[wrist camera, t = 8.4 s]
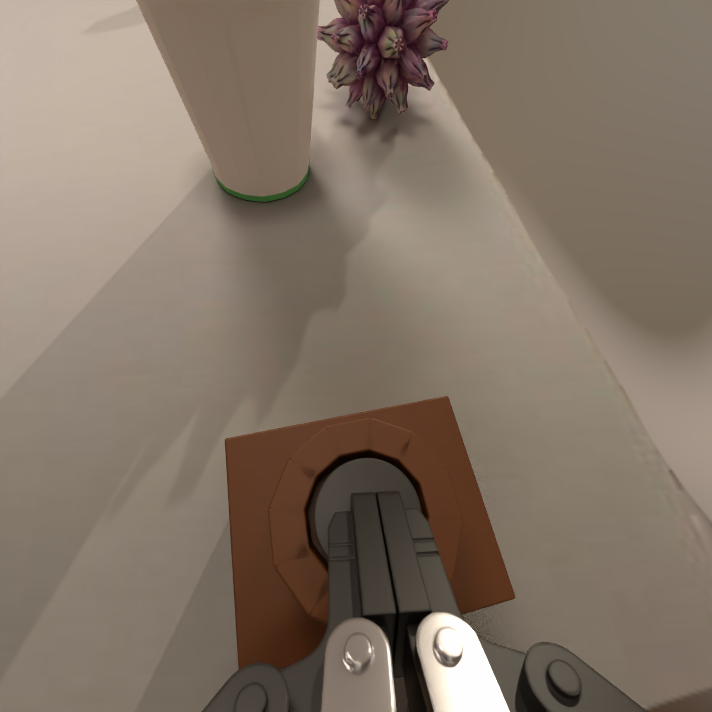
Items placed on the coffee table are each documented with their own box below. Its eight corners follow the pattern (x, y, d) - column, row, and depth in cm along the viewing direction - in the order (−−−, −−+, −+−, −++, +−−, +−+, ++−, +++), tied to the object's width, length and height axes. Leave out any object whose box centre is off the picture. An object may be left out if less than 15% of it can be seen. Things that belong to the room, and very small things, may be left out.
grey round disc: (324, 580, 12) (323, 592, 10) (308, 475, 14) (305, 469, 12) (420, 554, 13) (436, 562, 11) (395, 456, 14) (405, 448, 12)
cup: (345, 142, 33) (358, -121, 20) (308, 234, 28) (290, -34, 14) (223, 113, 34) (151, -164, 20) (165, 200, 29) (11, -95, 15)
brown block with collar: (271, 620, 17) (221, 716, 9) (256, 461, 21) (209, 427, 12) (453, 570, 19) (548, 613, 11) (413, 428, 22) (464, 380, 14)
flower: (438, 136, 37) (358, 153, 31) (369, 76, 40) (284, 81, 34) (504, -10, 28) (406, -24, 22) (408, -75, 31) (298, -104, 25)
